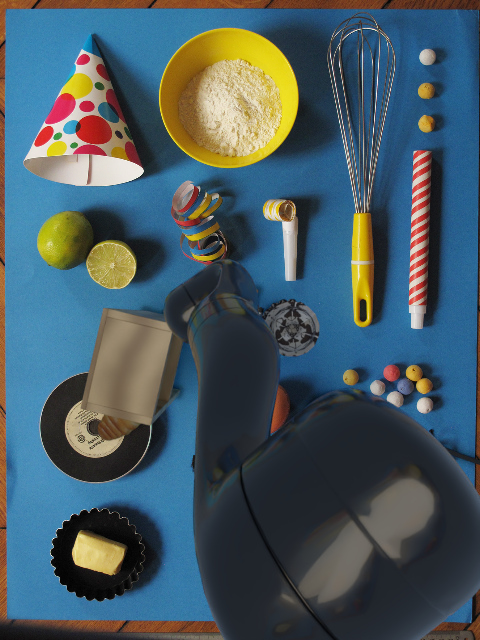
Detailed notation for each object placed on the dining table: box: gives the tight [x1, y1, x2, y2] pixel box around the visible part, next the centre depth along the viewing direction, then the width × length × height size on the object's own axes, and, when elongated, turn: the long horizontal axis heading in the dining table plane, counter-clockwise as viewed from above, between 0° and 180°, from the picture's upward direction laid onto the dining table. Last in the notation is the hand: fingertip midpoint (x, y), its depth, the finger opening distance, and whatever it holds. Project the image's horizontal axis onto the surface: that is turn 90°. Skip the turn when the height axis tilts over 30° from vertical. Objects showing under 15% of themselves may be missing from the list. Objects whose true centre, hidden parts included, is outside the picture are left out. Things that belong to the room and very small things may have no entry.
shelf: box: [79, 307, 184, 427], centre depth 74 cm, size 11×15×24 cm
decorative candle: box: [262, 298, 320, 357], centre depth 73 cm, size 9×9×25 cm
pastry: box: [97, 414, 143, 442], centre depth 84 cm, size 9×7×4 cm
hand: (226, 307), depth 80 cm, fingers closed on block, 5 cm apart
